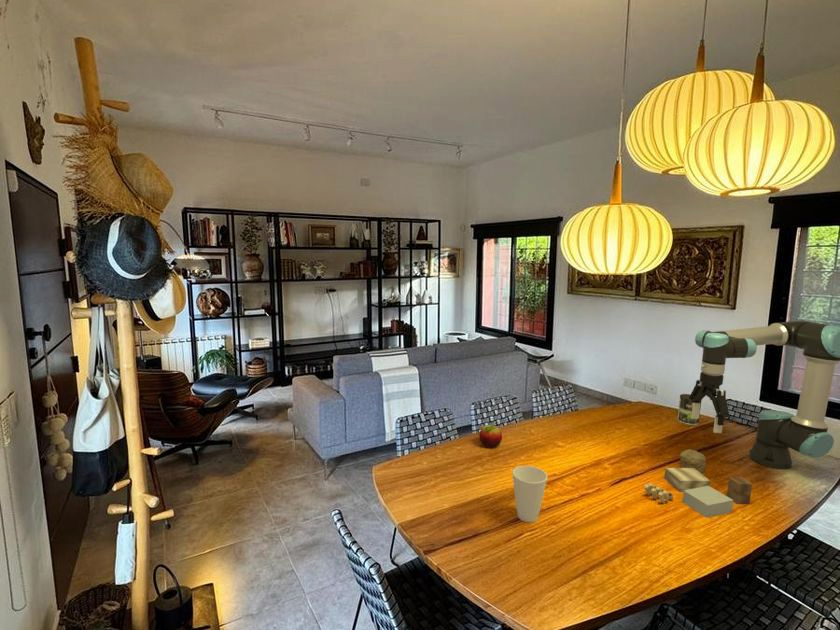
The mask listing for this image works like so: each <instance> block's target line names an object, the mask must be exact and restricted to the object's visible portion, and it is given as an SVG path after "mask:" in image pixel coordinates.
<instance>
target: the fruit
mask: <svg viewBox="0 0 840 630" xmlns="http://www.w3.org/2000/svg"><path fill="white" fill-rule="evenodd" d="M478 435H479V441H480V443H481V444H482V445H483V447H486V448H490V449H491V448H493V449H494V448H496V447H498V446H499V445H500V444H501V442H502V439H503V434H502V431H501V429H500V428H499V427H497V425H493V424H486V425H483V426H481V428H480V431H479V434H478Z"/></svg>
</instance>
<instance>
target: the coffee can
mask: <svg viewBox="0 0 840 630" xmlns="http://www.w3.org/2000/svg"><path fill="white" fill-rule="evenodd" d="M690 395H691V393H690V394H689V393H688V394H687V393H682V394H680V395H679V403H678V412H677V421H678V422H679V423H681V424H684V425H688V426H689V425H690V426H697V425H699V424H700V423H699V422H700V418H701V417H700V416H701V412H700V413H699V419H692V418H691V415H692V403H693V402H692V400H691V399H689V396H690ZM702 401H703V399H702V400H701V401H700V402H698V403H700V404H701V405H700V410H701V407H702Z"/></svg>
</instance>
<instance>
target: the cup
mask: <svg viewBox="0 0 840 630" xmlns="http://www.w3.org/2000/svg"><path fill="white" fill-rule="evenodd" d="M511 473H512V474H511V475H512V479H513V491H514V499H515V500H514V501H515V508H516V512H517V513H516V514H517V517H518V519H520V520H521V521H523V522H526V523H533V522H534V523H535V522H536V521H537V520H538V517H539V514H540V511H541V507H542V503H543V497H544V494H545V489H546V484H547V481H548V474H547V473H546V472H545V471H544V470H542V468H539V467H536V466H532V465H520V466H516V467H515V468H513V470H512V472H511Z"/></svg>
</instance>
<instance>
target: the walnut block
mask: <svg viewBox="0 0 840 630" xmlns="http://www.w3.org/2000/svg"><path fill="white" fill-rule="evenodd" d="M727 485H728V486H727V491H726V493H727V494H726V496H727V497H729V498H731V499H732V500H734V501H733V504H736V505H750V503H751V495H752V490H753V489H752V487H753V484H752V482H750V481H748V480H747V479H745V478H744V477H743V476H735V477H734V476H732V477H731V476H729V477H728V484H727Z"/></svg>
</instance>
